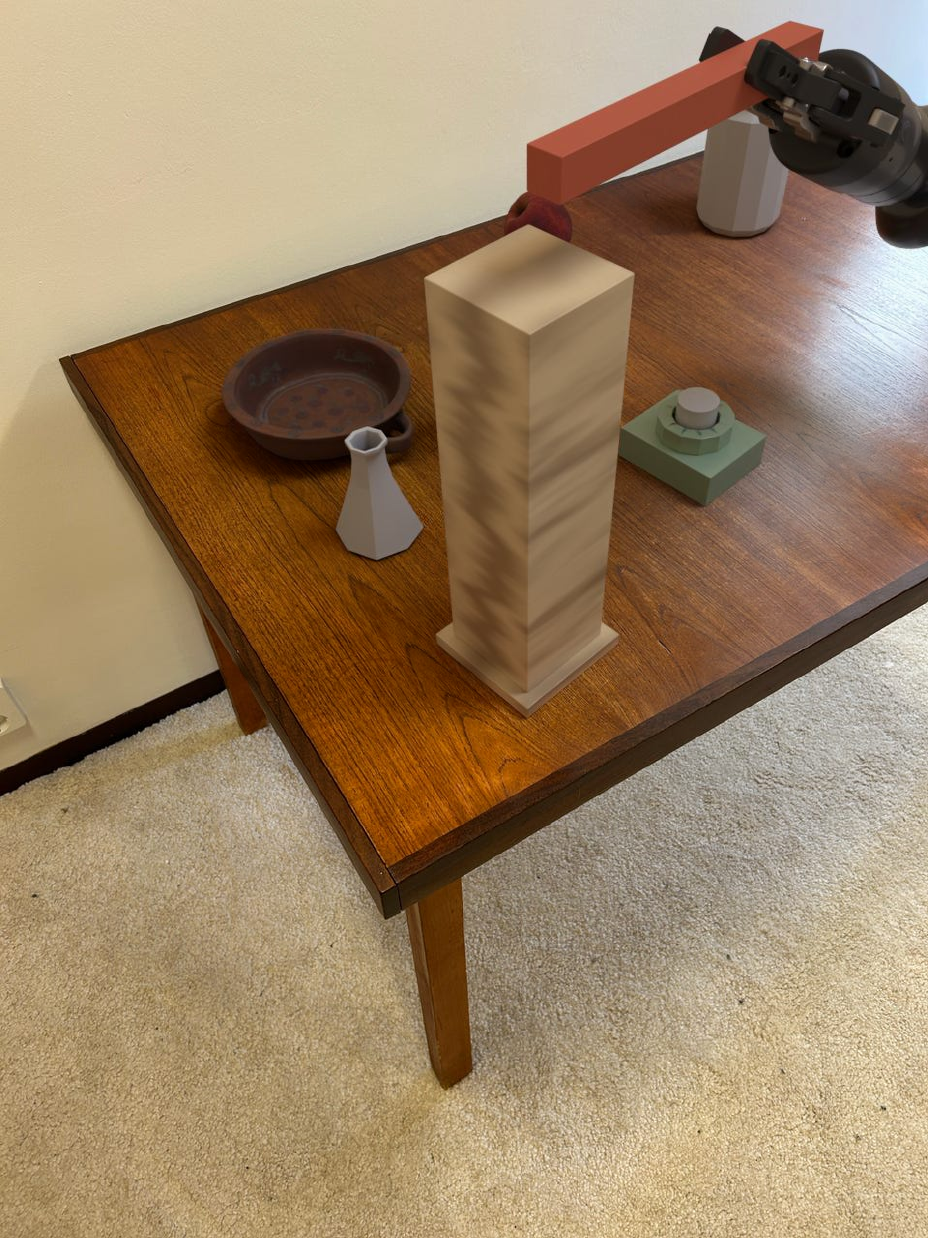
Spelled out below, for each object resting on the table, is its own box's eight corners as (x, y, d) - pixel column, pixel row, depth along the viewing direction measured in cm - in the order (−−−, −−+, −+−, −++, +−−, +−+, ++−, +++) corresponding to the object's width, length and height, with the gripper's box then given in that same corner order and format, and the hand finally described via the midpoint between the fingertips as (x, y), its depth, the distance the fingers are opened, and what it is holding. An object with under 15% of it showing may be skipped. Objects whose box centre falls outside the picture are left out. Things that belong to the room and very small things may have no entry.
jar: (678, 221, 117) (698, 59, 104) (727, 193, 121) (754, 34, 108) (744, 249, 112) (775, 83, 99) (794, 219, 116) (830, 55, 103)
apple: (504, 245, 115) (503, 178, 109) (570, 244, 115) (572, 177, 109) (504, 278, 110) (503, 210, 104) (572, 276, 110) (575, 208, 104)
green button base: (760, 463, 87) (771, 418, 84) (705, 506, 84) (713, 461, 80) (673, 416, 92) (680, 372, 89) (618, 455, 89) (622, 410, 85)
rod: (815, 73, 58) (824, 28, 56) (559, 205, 48) (561, 157, 47) (781, 63, 59) (789, 19, 57) (526, 191, 50) (526, 143, 48)
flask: (383, 491, 87) (370, 400, 80) (438, 529, 84) (430, 437, 76) (321, 532, 84) (301, 441, 77) (375, 573, 81) (360, 481, 73)
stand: (618, 644, 74) (662, 271, 51) (527, 718, 70) (529, 350, 47) (526, 577, 79) (528, 211, 56) (436, 643, 75) (397, 277, 52)
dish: (346, 514, 85) (338, 471, 82) (181, 427, 95) (167, 384, 91) (467, 414, 94) (464, 371, 90) (305, 343, 104) (296, 301, 100)
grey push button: (724, 418, 85) (728, 398, 83) (698, 436, 83) (702, 417, 82) (692, 400, 86) (695, 381, 85) (666, 418, 85) (668, 399, 83)
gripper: (910, 217, 64) (807, 161, 51) (738, 156, 71) (610, 93, 58) (974, 95, 61) (880, 3, 48) (787, 44, 68) (662, -49, 55)
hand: (733, 53), depth 53 cm, fingers closed on rod, 2 cm apart
